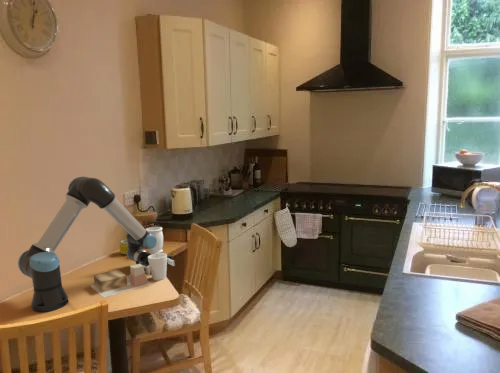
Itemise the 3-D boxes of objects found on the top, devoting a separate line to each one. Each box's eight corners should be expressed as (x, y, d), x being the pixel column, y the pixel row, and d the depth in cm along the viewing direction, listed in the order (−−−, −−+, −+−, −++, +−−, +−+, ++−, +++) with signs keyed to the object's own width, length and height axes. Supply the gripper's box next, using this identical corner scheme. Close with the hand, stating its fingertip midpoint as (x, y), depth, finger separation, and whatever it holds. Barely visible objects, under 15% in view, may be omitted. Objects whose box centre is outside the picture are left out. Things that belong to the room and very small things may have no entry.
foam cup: (146, 283, 217) (144, 258, 215) (155, 276, 226) (153, 252, 224) (163, 284, 215) (161, 259, 213) (172, 277, 223) (170, 253, 221)
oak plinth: (102, 292, 205) (101, 281, 205) (94, 285, 215) (93, 275, 214) (127, 285, 212) (126, 275, 212) (118, 278, 222) (117, 269, 221)
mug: (133, 255, 266) (131, 236, 264) (117, 255, 268) (115, 236, 266) (142, 249, 278) (140, 231, 276) (126, 249, 280) (125, 231, 278)
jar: (160, 254, 264) (158, 230, 262) (144, 254, 266) (142, 230, 264) (167, 249, 274) (165, 226, 272) (151, 249, 276) (149, 226, 274)
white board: (103, 300, 199) (103, 297, 199) (90, 288, 215) (90, 285, 215) (152, 286, 213) (152, 283, 213) (136, 276, 229) (136, 273, 229)
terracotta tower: (135, 286, 210) (133, 268, 208) (130, 283, 214) (128, 266, 213) (146, 283, 213) (145, 265, 212) (142, 280, 218) (140, 263, 216)
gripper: (165, 258, 243) (184, 267, 226) (122, 271, 228) (139, 281, 211) (163, 245, 242) (182, 253, 225) (120, 257, 227) (137, 267, 210)
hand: (161, 267), depth 218 cm, fingers open, 13 cm apart
